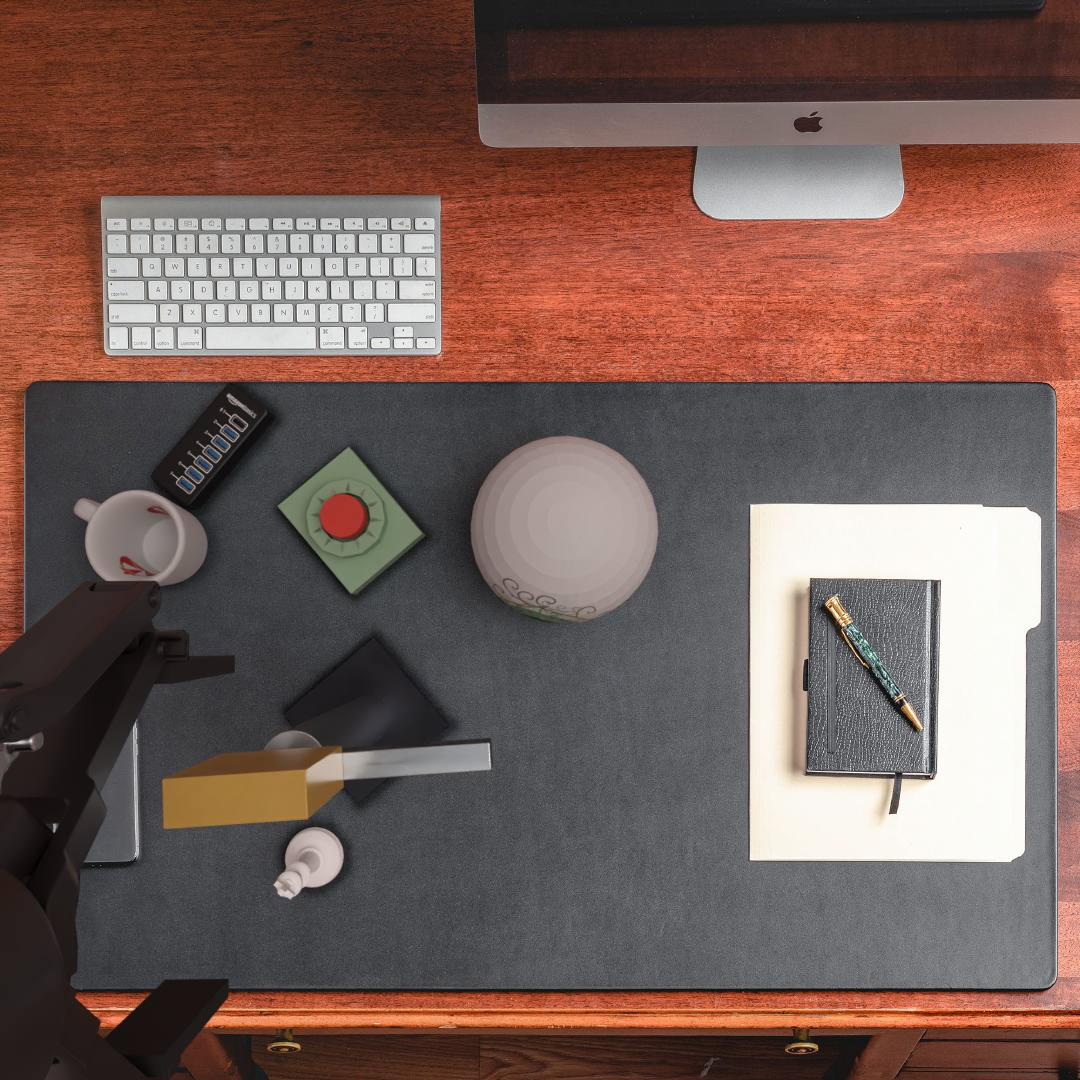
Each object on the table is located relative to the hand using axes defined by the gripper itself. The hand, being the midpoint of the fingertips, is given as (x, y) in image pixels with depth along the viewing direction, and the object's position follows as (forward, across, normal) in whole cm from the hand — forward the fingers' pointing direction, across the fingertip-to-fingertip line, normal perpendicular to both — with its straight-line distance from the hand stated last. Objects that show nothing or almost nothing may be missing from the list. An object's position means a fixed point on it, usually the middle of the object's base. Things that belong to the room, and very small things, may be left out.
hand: (200, 823), depth 38 cm
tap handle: (+15, 0, -4) cm, 15 cm away
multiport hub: (+39, +24, +14) cm, 48 cm away
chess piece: (+39, -12, +5) cm, 41 cm away
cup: (+39, +16, +19) cm, 46 cm away
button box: (+39, +17, +2) cm, 43 cm away
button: (+35, +17, +2) cm, 39 cm away
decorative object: (+39, +16, -17) cm, 45 cm away
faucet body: (+39, 0, 0) cm, 39 cm away
